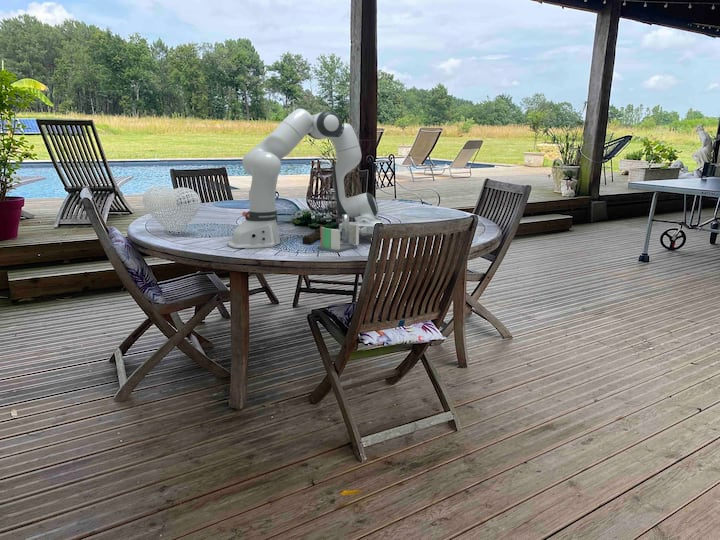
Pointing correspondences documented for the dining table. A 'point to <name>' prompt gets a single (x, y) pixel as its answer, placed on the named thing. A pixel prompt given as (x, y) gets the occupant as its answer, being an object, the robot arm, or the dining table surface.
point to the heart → (175, 192)
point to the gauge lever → (347, 229)
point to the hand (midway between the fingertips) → (359, 231)
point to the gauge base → (333, 241)
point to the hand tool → (311, 237)
